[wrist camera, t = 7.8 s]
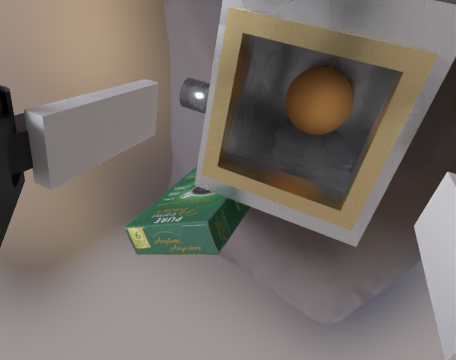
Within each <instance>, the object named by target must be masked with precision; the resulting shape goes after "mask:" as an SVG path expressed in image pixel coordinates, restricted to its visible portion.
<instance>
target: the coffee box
mask: <svg viewBox="0 0 456 360" xmlns="http://www.w3.org/2000/svg"><path fill="white" fill-rule="evenodd" d="M196 172H197V167H196V168H195V169H193V170H192V171H191V172H190V173H189V174H188V175H186V176H185V177H184V178H183V179H182V180H180V181H179V182H178V183H177V184H176V185H174V186H173V187H172V188H171V189H170V190H169V191H167V192H166V193H165V194H164V195H163V196H162V197H160V198H159V199H158V200H157V201H156V202H154V203H153V204H152V205H151V206H150V207H148V208H147V209H146V210H145V211H144V212H143V213H141V214H140V215H139V216H138V217H136V218H135V219H134V220H133V221H132V222H131V223H129V224H128V225H127V226H126V227H125V228H124V229H125V231H126V233H127V234H128V237H129V239H130V241H131V243H132V246H133V248H134V250H135V252H136V253H137V254H138V255H142V254H143V255H144V254H153V255H154V254H163V255H182V254H183V255H219V253H220V252H221V250H222V249H223V247H224V246H225V244H226V243H227V241H228V240H229V238H230V237H231V235H232V234H233V232H234V231H235V229H236V228H237V226H238V225H239V223H240V222H241V220H242V219H243V217H244V216H245V214H246V213H247V211H248V210H249V208H250V206H248V205H245V204H243V203H240V202H237V201H235V200H232V199H229V198H227V197H224V196H222V195H219V194H216V193H214V192H211V191H209V190H206V189H203V188H201V187H198V186H196V185H195V178H196Z"/></svg>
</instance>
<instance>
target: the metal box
mask: <svg viewBox="0 0 456 360" xmlns="http://www.w3.org/2000/svg"><path fill="white" fill-rule="evenodd" d="M455 57H456V5H455V4H450V3H445V2H440V1H434V0H223V2H222V9H221V15H220V22H219V28H218V35H217V41H216V48H215V54H214V61H213V67H212V74H211V81H210V83H206V82H203V81H199V80H196V79H193V78H188V79H186V80H185V82H184V83H183V85H182V88H181V91H180V104H181V106H183V107H186V108H189V109H192V110H195V111H198V112H201V113H204V114H205V120H204V126H203V133H202V139H201V146H200V152H199V159H198V165H197V172H196V178H195V185H196V186H198V187H201V188H203V189H206V190H209V191H211V192H214V193H216V194H219V195H222V196H224V197H227V198H229V199H232V200H235V201H237V202H240V203H243V204H245V205H248V206H250V207H253V208H256V209H258V210H261V211H263V212H266V213H269V214H271V215H274V216H276V217H279V218H282V219H284V220H287V221H289V222H292V223H295V224H297V225H300V226H303V227H305V228H308V229H310V230H313V231H316V232H318V233H321V234H323V235H326V236H329V237H331V238H334V239H336V240H339V241H342V242H344V243H347V244H350V245H352V246H355V247H356V246H357V245H358V243H359V241H360V239H361V237H362V235H363V233H364V231H365V229H366V227H367V225H368V224H369V222H370V220H371V218H372V216H373V214H374V212H375V210H376V208H377V206H378V204H379V202H380V201H381V199H382V197H383V195H384V193H385V191H386V189H387V187H388V185H389V183H390V181H391V180H392V178H393V176H394V174H395V172H396V170H397V168H398V166H399V164H400V162H401V160H402V158H403V157H404V155H405V153H406V151H407V149H408V147H409V145H410V143H411V141H412V139H413V137H414V136H415V134H416V132H417V130H418V128H419V126H420V124H421V122H422V120H423V118H424V116H425V114H426V113H427V111H428V109H429V107H430V105H431V103H432V101H433V99H434V97H435V95H436V93H437V92H438V90H439V88H440V86H441V84H442V82H443V80H444V78H445V76H446V74H447V72H448V71H449V69H450V67H451V65H452V63H453V61H454V59H455ZM315 67H328V68H332V69H335V70H337V71H338V72H340V73H341V74H343V75H344V76H345V77H346V78H347V80H348V81H349V83H350V85H351V87H352V91H353V97H354V99H353V107H352V110H351V112H350V115H349V116H348V118H347V119H346V121H345V122H344V123H343V124H342V125H341V126H340V127H338V128H337V129H335V130H334V131H331V132H329V133H326V134H319V135H315V134H308V133H305V132H303V131H301V130H299V129H298V128H297V127H295V126H294V125H293V124H292V122H291V121H290V119H289V117H288V115H287V113H286V108H285V97H286V93H287V90H288V88H289V86H290V84H291V83H292V81H293V80H294V79H295V78H296V77H297V76H298V75H299V74H301V73H302V72H304V71H306V70H308V69H311V68H315Z"/></svg>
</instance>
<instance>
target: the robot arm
mask: <svg viewBox="0 0 456 360" xmlns="http://www.w3.org/2000/svg"><path fill="white" fill-rule="evenodd" d="M158 88H159V83H157V82H154V81H150V80H147V79H144V80H140V81H136V82H132V83H128V84H124V85H120V86H116V87H112V88H108V89H104V90H100V91H97V92H92V93H89V94H84V95H81V96H77V97H73V98H69V99H65V100H61V101H57V102H53V103H49V104H45V105H41V106H37V107H33V108H29V109H25V110H24V113H22V114H18V115H15V116H14V112H13V107H12V100H11V95H10V89H8V88H7V87H4V86H1V85H0V247H1V244H2V241H3V239H4V236H5V233H6V231H7V228H8V225H9V222H10V220H11V217H12V214H13V212H14V209H15V206H16V204H17V201H18V198H19V195H20V193H21V190H22V187H23V185H24V182H25V179H24V178H25V177H24V171H26V170H29V169H31V168H33V173H34V181H35V183H37V184H40V185H42V186H44V187H46V188H49V189H53V188H55V187H57V186H59V185H61V184H63V183H64V182H67V181H68V180H70V179H72V178H74V177H76V176H78V175H80V174H82V173H84V172H85V171H87V170H89V169H91V168H93V167H95V166H97V165H98V164H101V163H102V162H104V161H106V160H108V159H110V158H112V157H114V156H116V155H118V154H120V153H122V152H124V151H125V150H127V149H129V148H131V147H133V146H135V145H137V144H139V143H141V142H143V141H144V140H146V139H148V138H150V137H152V136H154V135H155V130H156V115H157V102H158ZM414 229H415V233H416V237H417V242H418V246H419V250H420V255H421V259H422V263H423V268H424V272H425V276H426V281H427V285H428V289H429V294H430V298H431V303H432V307H433V311H434V315H435V320H436V324H437V329H438V333H439V338H440V342H441V346H442V351H443V355H444V359H445V360H456V174H454V173H451V172H447V173H446V175H445V177H444V178H443V180H442V181H441V183H440V185H439V186H438V188H437V190H436V191H435V193H434V194H433V196H432V198H431V199H430V201H429V202H428V204H427V206H426V207H425V209H424V210H423V212H422V214H421V215H420V217H419V219H418V220H417V222H416V223H415V225H414Z"/></svg>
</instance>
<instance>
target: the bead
mask: <svg viewBox="0 0 456 360" xmlns="http://www.w3.org/2000/svg"><path fill="white" fill-rule="evenodd" d="M353 99H354V97H353V91H352V87H351V85H350V83H349V81H348V80H347V78H346V77H345V76H344V75H343V74H341V73H340V72H338V71H337V70H335V69H332V68H328V67H315V68H311V69H308V70H306V71H304V72H302V73H301V74H299V75H298V76H297V77H296V78H295V79H294V80H293V81H292V83H291V84H290V86H289V88H288V90H287V93H286V97H285V108H286V113H287V115H288V117H289V119H290V121H291V122H292V124H293V125H294V126H295V127H297V128H298V129H299V130H301V131H303V132H305V133H308V134H315V135H319V134H326V133H329V132H331V131H334V130H335V129H337V128H338V127H340V126H341V125H342V124H343V123H344V122H345V121H346V119H347V118H348V116H349V115H350V112H351V110H352V107H353Z"/></svg>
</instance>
